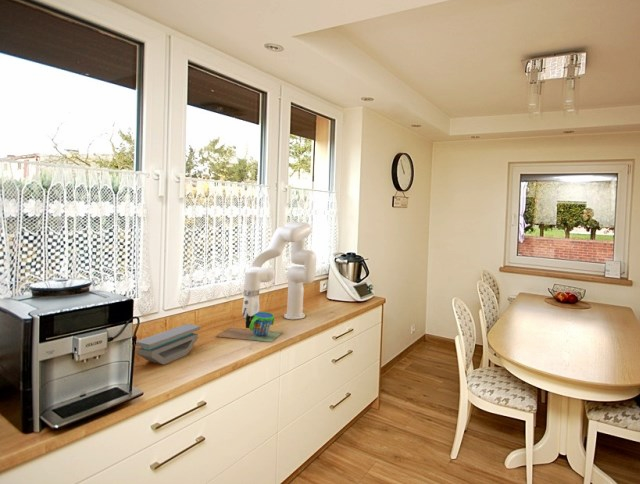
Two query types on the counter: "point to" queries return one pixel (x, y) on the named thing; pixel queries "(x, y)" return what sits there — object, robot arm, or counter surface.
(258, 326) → the snack cup
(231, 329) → the placemat
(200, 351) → the counter surface
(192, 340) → the sharpening stone
